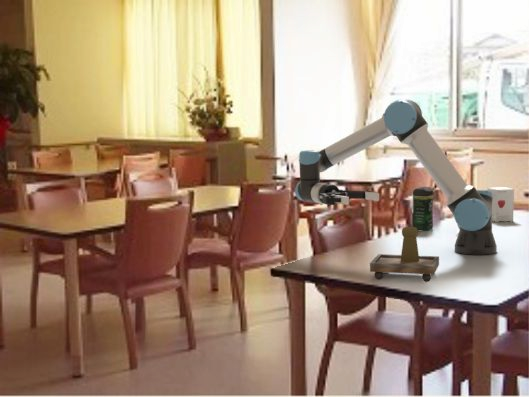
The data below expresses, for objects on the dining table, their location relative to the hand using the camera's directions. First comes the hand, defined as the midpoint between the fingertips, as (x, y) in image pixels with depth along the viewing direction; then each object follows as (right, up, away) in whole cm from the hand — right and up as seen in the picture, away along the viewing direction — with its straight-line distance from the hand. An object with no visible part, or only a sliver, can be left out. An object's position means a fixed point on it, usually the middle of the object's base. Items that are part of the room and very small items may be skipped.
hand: (363, 198), depth 283 cm
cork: (+13, -20, -16) cm, 29 cm away
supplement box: (+73, -10, +92) cm, 118 cm away
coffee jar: (+34, -14, +72) cm, 81 cm away
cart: (+11, -25, -18) cm, 33 cm away
